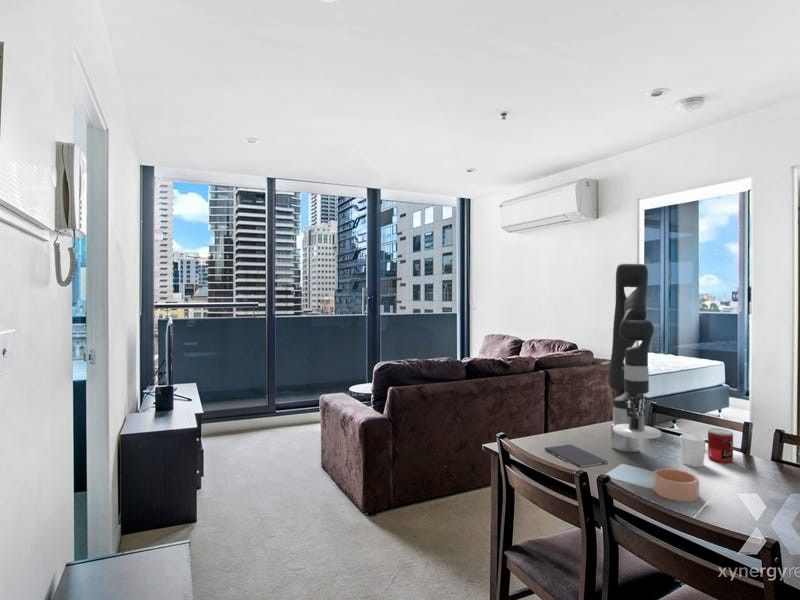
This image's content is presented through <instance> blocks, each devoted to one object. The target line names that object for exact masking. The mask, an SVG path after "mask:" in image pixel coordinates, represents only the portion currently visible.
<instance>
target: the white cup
mask: <svg viewBox="0 0 800 600" xmlns="http://www.w3.org/2000/svg"><path fill="white" fill-rule="evenodd" d="M705 451H706V438H705V437H704V436H701V435H697V434H692V433H684V434H680V452H681V454H680V455H681V463H682V464H683V465H686V466H688V467H692V468H703V467H704V463H705V460H704V459H705V455H706V453H705Z"/></svg>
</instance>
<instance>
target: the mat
mask: <svg viewBox="0 0 800 600" xmlns="http://www.w3.org/2000/svg"><path fill="white" fill-rule="evenodd" d="M653 472H654V471H652V470H649V469H645V468H641V467H637V466H633V465H629V464H625V463H621V464H619V465H618V466H616V467H614V468H613V469H612V470H610V471H608V472H607V473H605V474H606V475H609V476H610V477H611V478H610V479H614V480H617V481H621V482H625V483H628V484H631V485H635V486H639V487H643V488H647V489H650V490H654V488H653Z"/></svg>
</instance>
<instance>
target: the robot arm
mask: <svg viewBox="0 0 800 600" xmlns="http://www.w3.org/2000/svg"><path fill="white" fill-rule="evenodd" d="M648 278H649V271H648V268H647V265H646V264H644V263H643V264H642V263H619V264H618V265H617V267H616V271H615V305H614V315H613V326H612V327H613V329H612V345H611V346H612V347H611V354H610V355H611V357H610V362H609V367H608V368H609V369H608V376H607V377H608V378H607V379H608V384H609V387H610V389H611V390H613V391H623V393H622V394H621V395H619V396H616V397H615V398H614V399H612V424H611V425H610V445H611V447H610V448H611V449H614V450H616V451H620V452H624V453H636V452H638V451H639V438H631V437H626V436H622V435H619V434H617V433H615V432H614V431H613V426H615V425H618V424H629V417H630V418H631V428H632V429H635V430H637V429H638V415H643V416H644V414H646V409H647V401H648V397H647V396H645V395H646V394H648V393H649V392H650V391H649V390H650V389H649V388H650V386H649V385H650V383H649V382H650V379H649V377H650V373H649V366H648V365H649V357H648V356H649V349H650V345H651V341H652V338H653V336H654V331H655V327H654V324H653V323H652V322H651V321H650V320H646V319H647V306H646V305H647V304H646V299H647V293H648V282H649V281H648ZM625 288H635V290H633V291H632V292H631V293H630V294H629V295H628V296H627V295H626V292H625ZM637 341H639V342H641V343H640V344H639V345H637V346H634V345H635V343H636V342H637ZM623 365H624V366H623ZM644 394H645V395H644Z"/></svg>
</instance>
